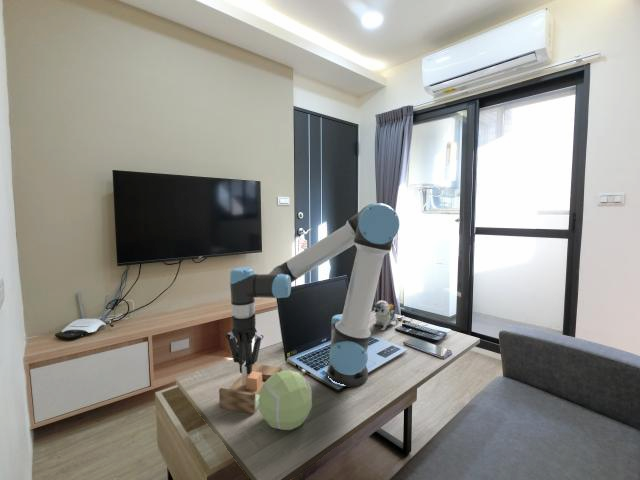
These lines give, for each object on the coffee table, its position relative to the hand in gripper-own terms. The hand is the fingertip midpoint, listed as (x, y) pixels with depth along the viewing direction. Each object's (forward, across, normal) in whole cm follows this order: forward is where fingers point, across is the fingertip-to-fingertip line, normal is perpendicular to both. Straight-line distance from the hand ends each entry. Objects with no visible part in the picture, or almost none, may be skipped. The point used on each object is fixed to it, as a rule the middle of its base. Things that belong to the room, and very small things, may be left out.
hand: (246, 382), depth 103 cm
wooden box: (+4, -1, -3) cm, 5 cm away
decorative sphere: (+5, -18, +10) cm, 21 cm away
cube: (+1, -3, 0) cm, 3 cm away
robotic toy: (+5, -42, -70) cm, 82 cm away
